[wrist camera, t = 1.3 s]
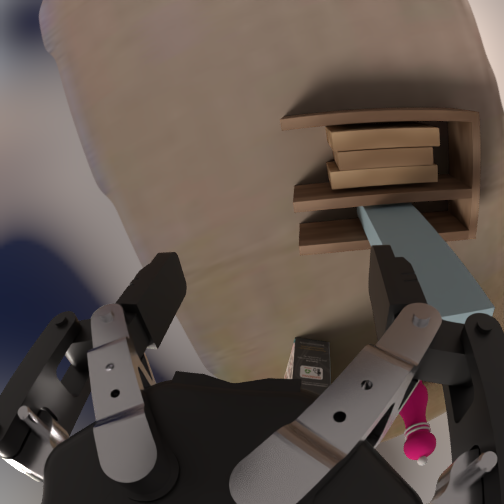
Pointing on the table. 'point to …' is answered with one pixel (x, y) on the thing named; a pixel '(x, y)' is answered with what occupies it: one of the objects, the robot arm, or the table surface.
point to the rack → (447, 188)
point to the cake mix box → (310, 364)
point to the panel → (426, 259)
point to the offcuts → (382, 154)
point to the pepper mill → (417, 426)
